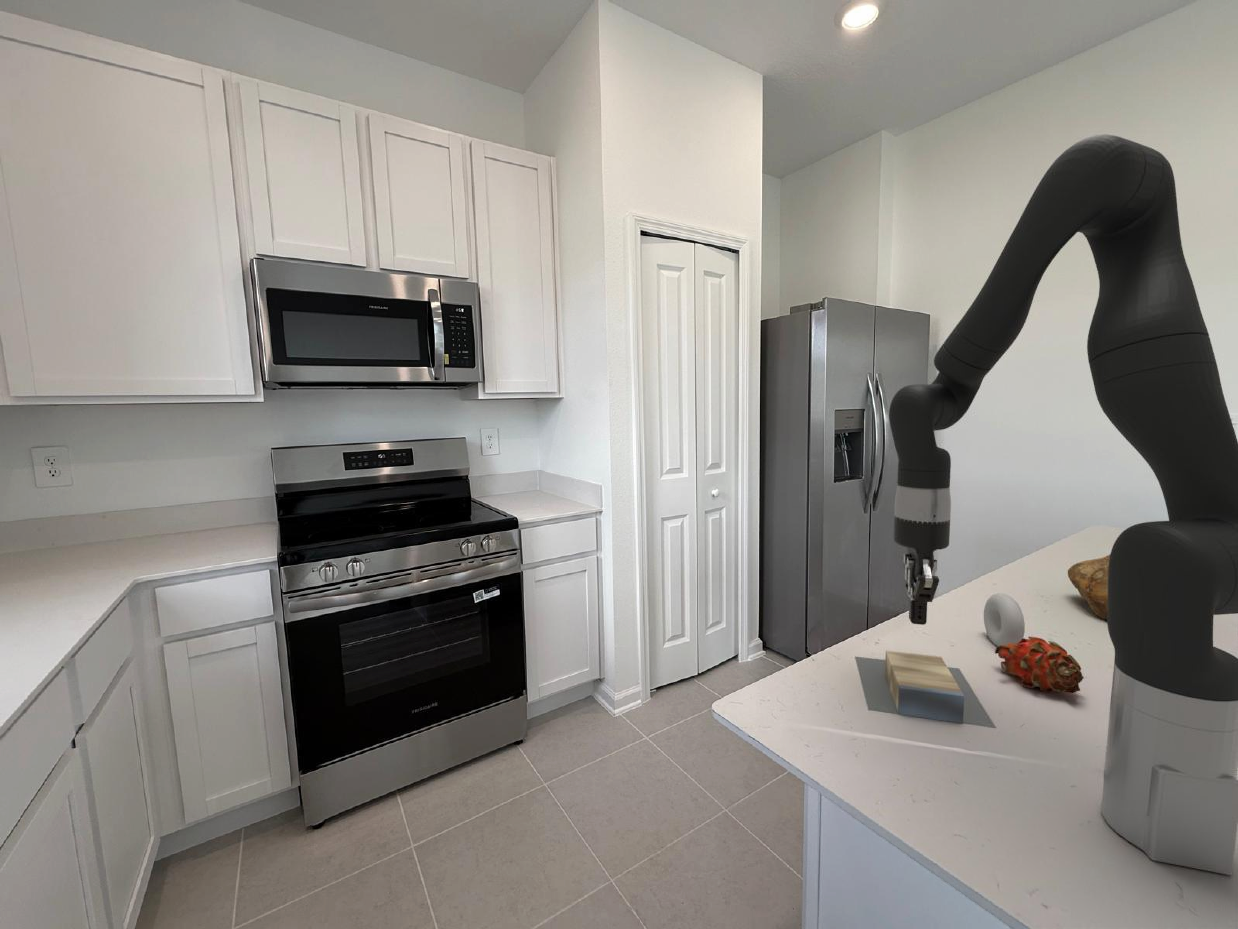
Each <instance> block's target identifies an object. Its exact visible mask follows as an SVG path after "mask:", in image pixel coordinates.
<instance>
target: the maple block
mask: <svg viewBox="0 0 1238 929" xmlns="http://www.w3.org/2000/svg"><path fill="white" fill-rule="evenodd" d="M884 660H885V675H886V678H887V681H888V684H889V687H890V690H891V693H892V696H893V698H894V701H895V704H896V707H897V710H898V713H899V714H898V715H902V716H907V717H908V716H910V717H913V718H923V719H930V720H937V721H943V722H949V721H950V723H956V722H957V724H964V723H963V713H964V695H963V693H962V691H961V690H960V688H959V686H958V685H957V683H956V681H955V679H954V678H953V676H952V674H951V673H950V671H949V669H948V667H949V666H947V664H946V662H945V660H943V657H942V656H938V655H931V654H929V655H928V654H921V653H913V652H912V653H911V652H901V651H894V650H892V651H891V650H885V658H884Z"/></svg>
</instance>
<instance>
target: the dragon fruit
mask: <svg viewBox="0 0 1238 929" xmlns="http://www.w3.org/2000/svg"><path fill="white" fill-rule="evenodd" d="M993 652H994V654H995V655H996V654H997V655H998V657H999V658H1000V659H1003V661H1000V667H1001V669H1002V672H1003V673H1004V674H1009V675H1012V676H1013V675H1014V676H1018V677H1019V678H1020V679H1022V680H1021V682H1020V683H1021V685H1022V687H1025V688H1028V689H1035V688H1037V687H1038V688H1039V689H1040V691H1042V692H1043V691H1044V692H1045V691H1046V692H1047V693H1049V694H1051V693H1063V692H1065V693H1069V694H1074V693H1077V692H1081V689H1080V686H1079V685H1080V683H1081V682H1082V681H1083V680H1084V679H1085V677H1084V675H1083V673H1082V671H1081V670H1082V667H1081V665H1080V664H1079V662H1078V661H1077V659H1075V657H1074V656H1073V655H1071V654H1068V652H1067V650H1066V649H1065V648H1064V647H1062V646H1061V645H1060V644H1059V643H1057V642H1055V641H1051V640H1049V641H1048V642H1047V640H1045V639H1043V638H1041V637H1037V636H1036V637H1035V636H1028V637H1027V638H1025V637H1024V638H1023V639H1022V640H1021V641H1020V642H1019V643H1016V644H1015V643H1010V644H1007V645H1001V646H999V647H998V646H997V647H996V648H995V649H994V650H993V651H992V653H993Z"/></svg>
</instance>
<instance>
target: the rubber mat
mask: <svg viewBox="0 0 1238 929" xmlns="http://www.w3.org/2000/svg"><path fill="white" fill-rule="evenodd" d="M854 658H855V662H856V666H857V670H858V674H859V678H860V682H861V686H862V689H863V694H864V698H865V702H866V706H867V710H868V711H874V712H880V713H887V714H892V715H893V714H894V715H900V714H899V713H898V710H897V707H896V704H895V701H894V698H893V696H892V693H891V690H890V687H889V684H888V681H887V678H886V675H885V659H881V658H874V657H873V658H871V657H865V656H864V657H863V656H861V657H860V656H855V657H854ZM947 667H948V669H949V671H950V673H951V674H952V676H953V678H954V679H955V681H956V683H957V685H958V686H959V688H960V690H961V691H962V693H963V695H964V713H963V723H962V724H965V725H971V726H980V727H985V728H986V727H987V728H994V729H996V728H997V727H996V725H995V723H994V722H993V720H992V719H991V717H990V715H989V714H988V712H987V711H986V709H985V708H984V707H983V704H982V703H981V701H980V700H979V698H978V696H977V695H976V693H975V691H974V689H972V687H971V685H970V683H968V680H967V679H966V677H965V676H964V674H963V673H962V671H961V669H960V668H958V667H950V666H947ZM948 722H950V721H948ZM950 723H951V722H950ZM955 723H957V722H955ZM957 724H958V723H957Z"/></svg>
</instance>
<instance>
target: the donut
mask: <svg viewBox="0 0 1238 929" xmlns="http://www.w3.org/2000/svg"><path fill="white" fill-rule="evenodd" d="M983 623H984V628H985V632H986V634H987V636H988V639H989V640H990V641H991V642H992V643H993V645H995V646H996V647H997V648H998V647H999V646H1001V645H1007V644H1010V643H1015V644H1016V643H1019V642H1020V641H1021V640H1022V639H1023V638H1025V633H1026V631H1025V628H1026V627H1025V626H1026V625H1025V617H1024V614H1023V611H1022V608H1021V607H1020V605H1019V603H1018V602H1017V601H1016V600H1015V598H1013V596H1011V595H1008V594H1006V593H1003V592H1000V593H999V592H997V593H994V594H992V595H991V596H989V598H988V599H987V600H986V602H985V605H984V609H983Z"/></svg>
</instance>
